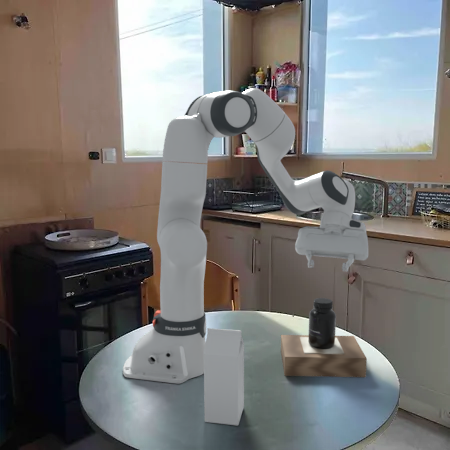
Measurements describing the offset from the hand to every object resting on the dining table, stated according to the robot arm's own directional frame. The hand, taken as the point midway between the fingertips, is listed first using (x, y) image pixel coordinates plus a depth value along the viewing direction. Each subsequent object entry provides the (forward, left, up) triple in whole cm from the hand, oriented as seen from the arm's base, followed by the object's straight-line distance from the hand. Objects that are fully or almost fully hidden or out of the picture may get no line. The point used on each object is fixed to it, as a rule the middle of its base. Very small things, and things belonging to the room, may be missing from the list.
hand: (327, 268), depth 125 cm
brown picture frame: (-2, -8, -24) cm, 25 cm away
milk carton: (-26, -33, -24) cm, 49 cm away
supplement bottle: (-2, -8, -19) cm, 21 cm away
